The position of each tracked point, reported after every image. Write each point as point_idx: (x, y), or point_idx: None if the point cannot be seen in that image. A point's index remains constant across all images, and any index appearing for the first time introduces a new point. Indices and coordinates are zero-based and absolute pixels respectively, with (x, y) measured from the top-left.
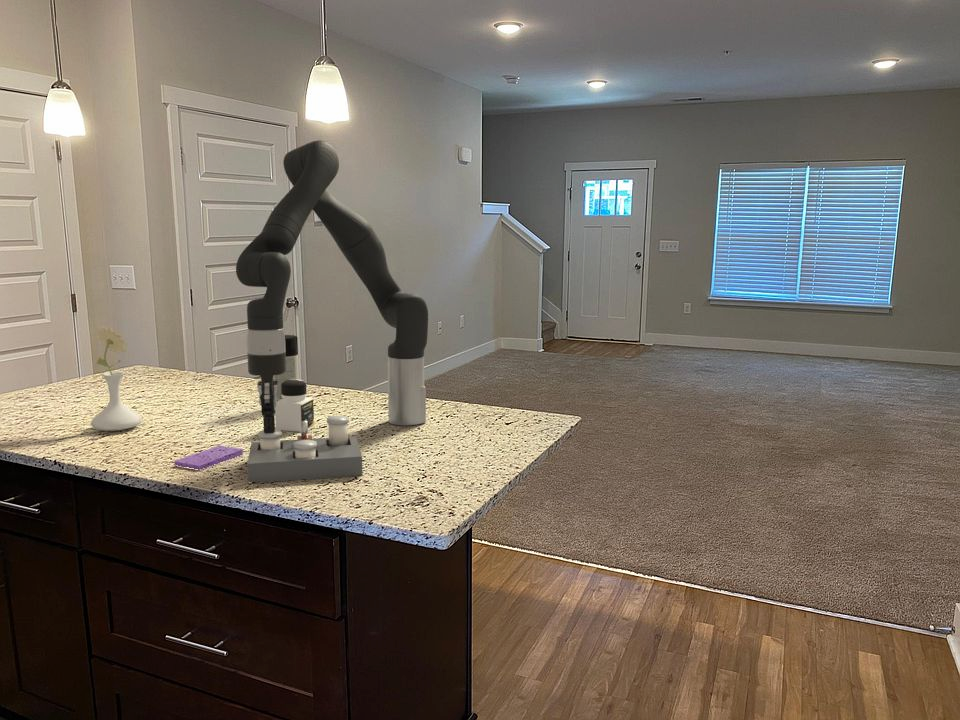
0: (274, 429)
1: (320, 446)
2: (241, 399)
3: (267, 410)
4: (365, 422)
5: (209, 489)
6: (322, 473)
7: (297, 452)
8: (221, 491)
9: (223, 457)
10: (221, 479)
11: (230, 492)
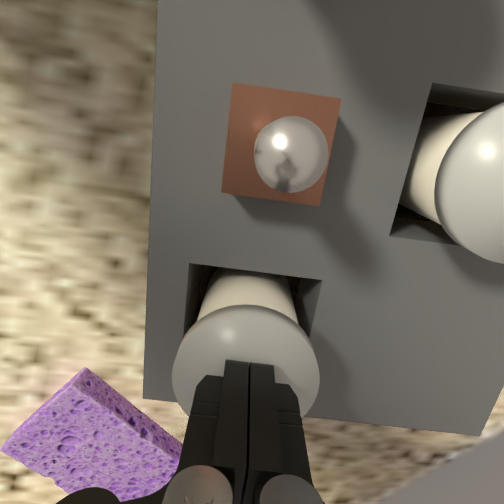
0: (273, 376)
1: (366, 47)
2: None
3: None
4: None
5: (426, 468)
6: None
7: None
8: (464, 443)
9: (154, 439)
10: (348, 439)
11: (488, 424)
